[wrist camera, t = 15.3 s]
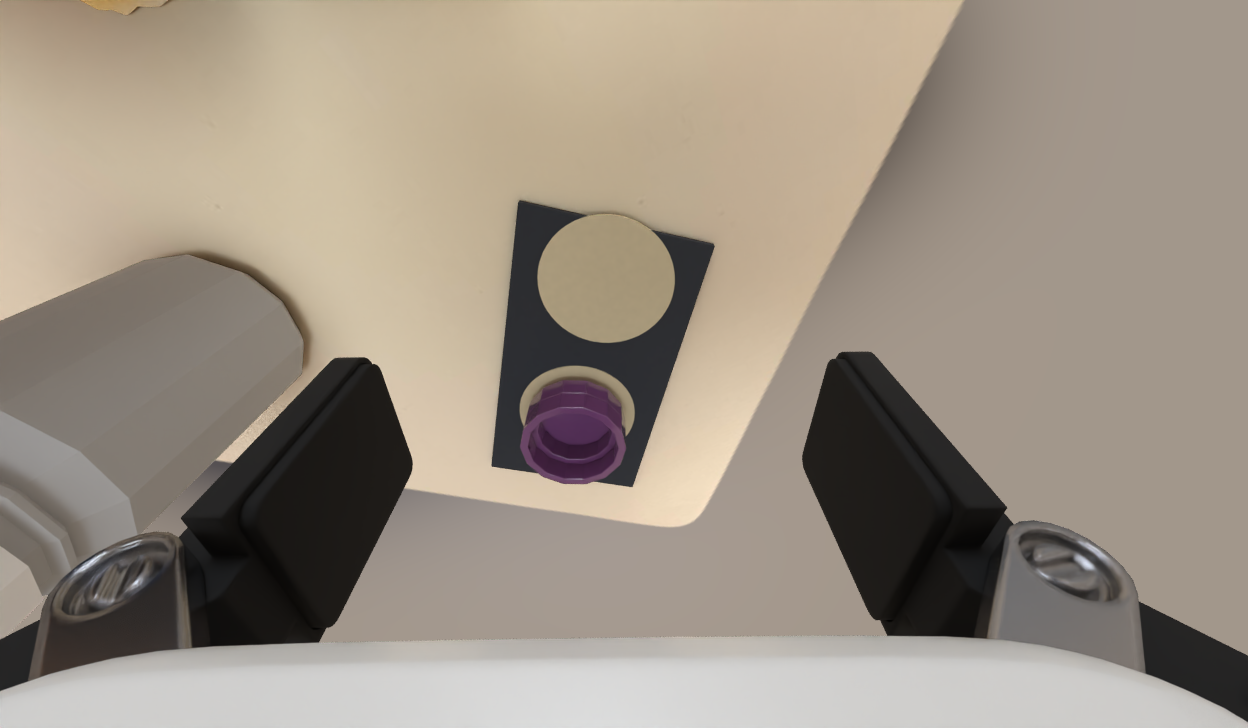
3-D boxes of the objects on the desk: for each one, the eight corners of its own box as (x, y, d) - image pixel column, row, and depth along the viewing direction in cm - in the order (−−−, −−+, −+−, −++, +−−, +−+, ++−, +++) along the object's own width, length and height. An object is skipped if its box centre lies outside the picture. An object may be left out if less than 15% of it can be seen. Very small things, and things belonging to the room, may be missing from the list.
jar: (126, 336, 29) (-400, 633, 14) (155, 211, 25) (-548, 439, 10) (288, 410, 32) (5, 713, 17) (337, 310, 28) (20, 594, 13)
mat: (520, 190, 25) (518, 192, 24) (716, 235, 26) (718, 238, 26) (492, 462, 36) (491, 467, 35) (632, 483, 37) (632, 488, 37)
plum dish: (550, 360, 30) (543, 391, 27) (641, 398, 32) (644, 431, 29) (514, 429, 33) (504, 464, 30) (599, 460, 35) (597, 496, 32)
